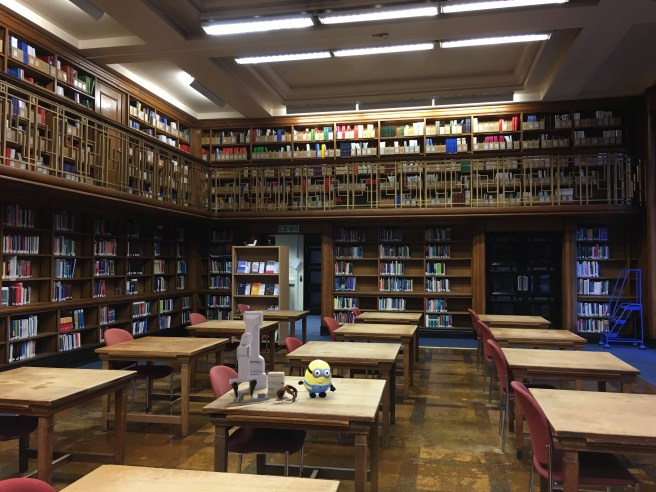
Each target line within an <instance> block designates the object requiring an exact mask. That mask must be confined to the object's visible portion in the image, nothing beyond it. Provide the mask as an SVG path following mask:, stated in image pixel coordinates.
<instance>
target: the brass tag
mask: <svg viewBox="0 0 656 492" xmlns="http://www.w3.org/2000/svg"><path fill="white" fill-rule="evenodd" d="M249 399H251V395H250V394H249V395H245V396H243V400H249Z"/></svg>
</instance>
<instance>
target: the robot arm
mask: <svg viewBox="0 0 656 492" xmlns="http://www.w3.org/2000/svg"><path fill="white" fill-rule="evenodd" d="M242 317H243V318H242V319H243V322H244V325H245V329H244V333H243V334H241V338H240V342H239V345H238V346H237V348H236V357H237V363H238V364H237V365H238V366H237V368H238V369H237V370H238V374H237V375H238V376H237V377H236V378H230V379H228V380H229V381H228V382H229V385H231V388H232V390H233V393H235V397H236V398H238V399H239V397H238V392H239V384H238V383H247V382H248V389H249V395H251V396H252V397H254V396H253V395H254V391H255V390H259V389H264V388H265V389H266V388H268V380H267V374H266V372H265V369H266V362H265V358H264V357H263V356H262V355H260V328H261V326H262V325H264V313H263V311H262V310H260V311H258V310H257V311H256V310H255V311H254V310H253V311H252V310H251V311H250V310H249V311H247V310H245V311H244V312H243V316H242Z"/></svg>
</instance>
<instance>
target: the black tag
mask: <svg viewBox="0 0 656 492" xmlns="http://www.w3.org/2000/svg"><path fill="white" fill-rule="evenodd" d="M265 394H266V393H265V392H261V393H260V392H259V393H257V398H264V397H265Z"/></svg>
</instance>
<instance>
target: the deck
mask: <svg viewBox="0 0 656 492" xmlns="http://www.w3.org/2000/svg"><path fill="white" fill-rule="evenodd" d="M229 395H231V396H232V397H233V398H234V397H235V393H234V392H231V393H230V392H229ZM238 398H239V391H238Z"/></svg>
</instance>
